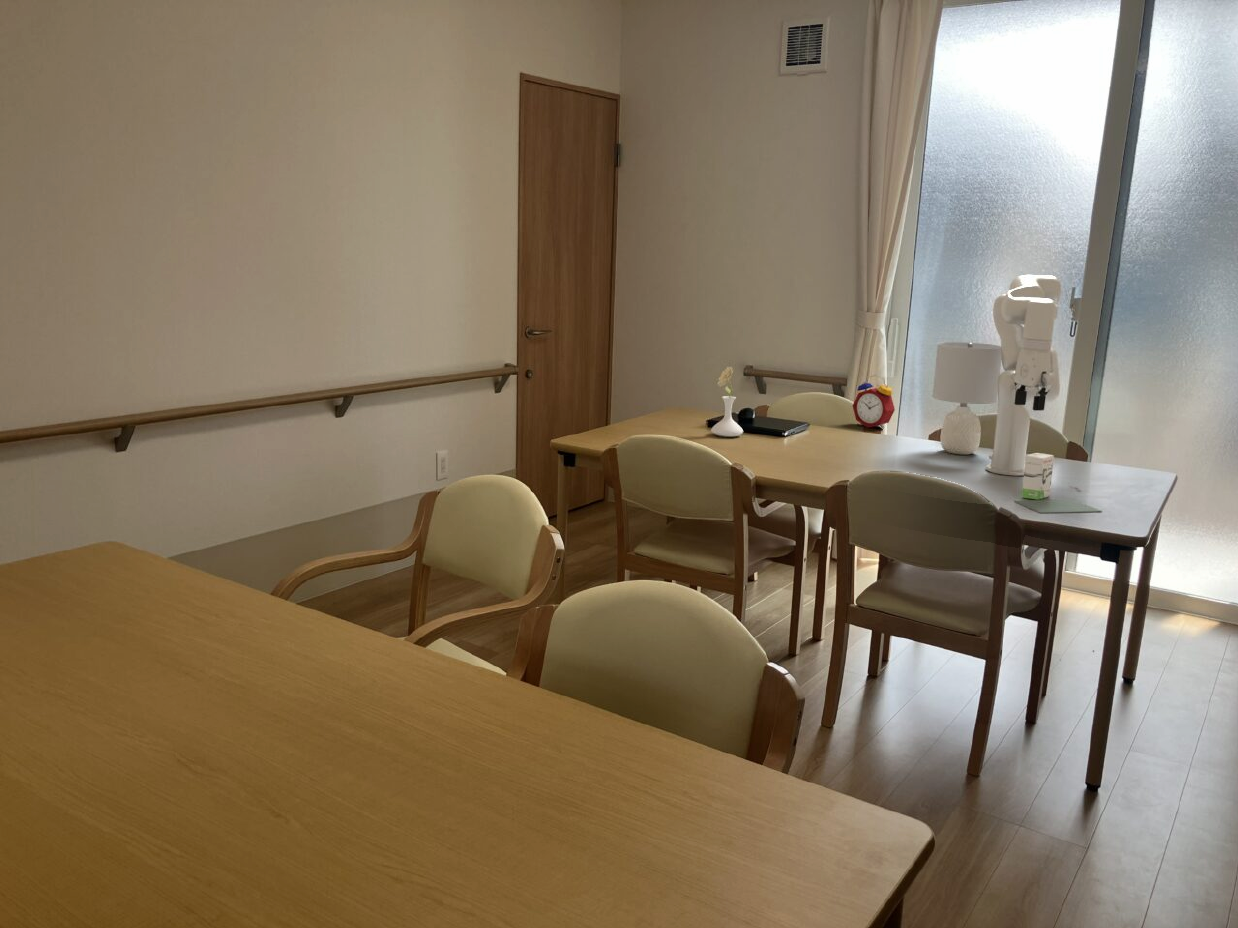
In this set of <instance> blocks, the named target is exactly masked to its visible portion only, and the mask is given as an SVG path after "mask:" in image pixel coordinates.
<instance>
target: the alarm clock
mask: <svg viewBox="0 0 1238 928" xmlns="http://www.w3.org/2000/svg"><path fill="white" fill-rule="evenodd" d="M866 377H867V378H866V381H862V384H860V385H858V387H857V391H859V392H857V395H856V398H855V399H854V402H853V403H852V408H853V413H854V417H855V420H856V422H858V423H860V424H859V425H860V426H864V427H866V428H868V429H869V428H873V427H874V428H875V427H878V426H880V428H881V429H882V430H884V428H885V427H884V425H885V424H889V423H890V421H891V419H892V416H893V414H894V413H895V409H896V408H895V405H894V402H893V398H892V395H893V394H894V393H893V389H892V388H891V387H889V384H885V383H886V379H885V378H884V377H882V376H880V375H878V374H873V375H869V376H866ZM872 377H878V378H880V379H882V380H883V384H881V385H880V384H879V383H876V387H875V388H873V387H874V385H873V384H872V383H871V382H870V383H869V382H868V381H869V378H872Z"/></svg>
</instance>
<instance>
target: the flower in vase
mask: <svg viewBox="0 0 1238 928" xmlns="http://www.w3.org/2000/svg"><path fill="white" fill-rule="evenodd" d="M733 372H734V370H733V367H732V366H727V367H726V368H725V369H724V370H723V371H722V372H721V374H720V377H718V382H717V385H718V387H719V388H720V387H723V386H725V385H726V384H728V382H729V385H730V387H728V385H726V386H725V387H724V390H725V391H726V393H728V394H729V395H726V396H725V395H724V396H721V399H722V401H723V403H724V416H723V418H722V419H721V420H719V422H717V423H716V424H714V425H713V426H712V427H711V429H710V432H711V433H712V434H714V435H716V436H719V437H739V436H740V435H742V434H743V433H744V430H743V428H742V427H741V426H740V425H739V424H738V422H736V421H735V420H734V419H733V417H732V409H733V404H734V402H735V400H736V399H737V397H736V396H733V391H734V388H733V387H732V383H731V381H730V379H731V378H732V374H733Z"/></svg>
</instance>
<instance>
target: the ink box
mask: <svg viewBox="0 0 1238 928" xmlns="http://www.w3.org/2000/svg"><path fill="white" fill-rule="evenodd" d="M1054 458H1055V455H1054V454H1047V453H1041V452H1034V453H1030V454H1026V457H1025V465H1024V467H1025V468H1024V475H1023V479H1022V480H1023V481H1022V491H1021V492H1022V493H1021V497H1022V498H1024V499H1025V498H1026V499H1030V500H1043V499H1045V498H1048V497H1050V496H1051V490H1052V489H1051V486H1052V478H1053V468H1054Z"/></svg>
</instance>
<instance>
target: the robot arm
mask: <svg viewBox="0 0 1238 928" xmlns="http://www.w3.org/2000/svg"><path fill="white" fill-rule="evenodd" d="M1008 290H1009V291H1007V292H1006V293H1003V294H1000V295H998V296H997V297H996V298H995V299H994V302H993V308H992V316H993V323H994V326H995V329H996V332H997V333H998V336H999V338H1000V346H1001V358H1002V360H1001V367H1002V369H1003V370H1004V371H1002V372H1000V376H999V378H998V395H997V411H996V413H997V415H996V424H995V430H994V441H993V448H992V449H993V450H992V454H989V455H988V459H989V460H991V461H990V463H989V464H986V466H985V471H988V472H991V473H994V474H998V475H1004V476H1018V477H1019V476H1020V477H1021V476H1024V468H1025V457H1026V456H1027V448H1028V439H1029V431H1030V423H1031V415H1030V412H1029V411H1028V409H1027V408H1026V407H1025V405H1026V404H1027V403H1032V410H1033V411H1040V412H1041V411H1044V410H1045V407H1046V404H1047V403H1049V404H1050V403H1053V402H1055V401H1057V400H1058V398H1059V395H1060V388H1061V387H1060V386H1061V383H1060V372H1059V371H1060V370H1059V369H1060V368H1059V359H1058V353H1057V350H1056V349H1055V348H1054V347H1053V346H1052V344H1053V343H1052V342H1053V335H1054V334H1053V333H1054V325H1055V321H1056V320H1057V318H1058V314H1059V313H1058V312H1059V309H1058V304H1059V301H1060V298H1061V294H1062V285H1061V281H1060V280H1059V278H1057V276H1054V275H1040V274H1039V275H1037V274H1035V275H1034V274H1025V275H1023V274H1022V275H1019V276H1016V277H1015V278H1014V279H1013V280H1012V281H1011V283H1010V284H1009V287H1008ZM1023 325H1024V326H1023Z"/></svg>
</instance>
